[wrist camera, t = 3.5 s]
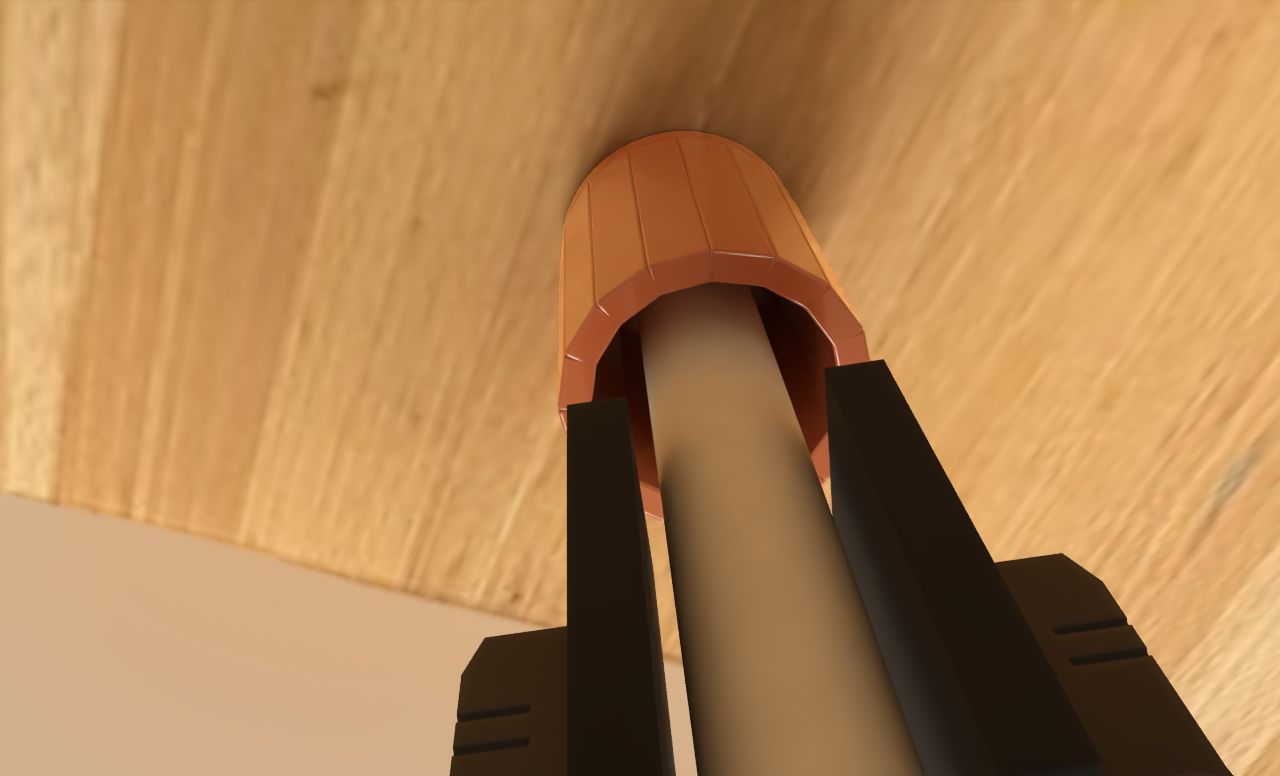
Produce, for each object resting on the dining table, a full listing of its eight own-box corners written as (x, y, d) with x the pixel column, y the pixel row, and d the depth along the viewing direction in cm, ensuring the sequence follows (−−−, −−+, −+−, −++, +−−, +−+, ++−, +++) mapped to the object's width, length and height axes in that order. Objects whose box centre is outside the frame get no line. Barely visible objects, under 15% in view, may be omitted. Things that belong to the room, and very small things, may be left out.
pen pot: (512, 230, 21) (493, 378, 16) (706, 78, 20) (756, 185, 15) (656, 393, 23) (683, 574, 18) (842, 263, 22) (929, 416, 17)
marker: (604, 248, 21) (681, 1194, 7) (694, 181, 20) (973, 1060, 6) (671, 326, 22) (858, 1309, 8) (758, 264, 21) (1128, 1198, 7)
